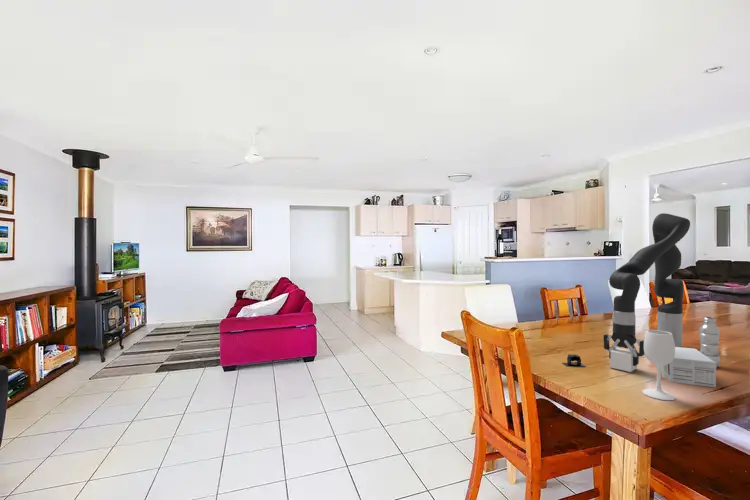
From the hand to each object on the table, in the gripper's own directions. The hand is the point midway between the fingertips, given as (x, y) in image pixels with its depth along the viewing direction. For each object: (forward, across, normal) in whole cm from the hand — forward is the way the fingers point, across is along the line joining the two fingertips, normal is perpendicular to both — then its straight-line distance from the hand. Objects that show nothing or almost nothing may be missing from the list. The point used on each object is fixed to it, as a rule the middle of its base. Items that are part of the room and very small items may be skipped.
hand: (623, 363), depth 144 cm
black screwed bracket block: (+3, +14, +10) cm, 18 cm away
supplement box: (+3, -17, -8) cm, 19 cm away
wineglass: (+2, -16, +20) cm, 26 cm away
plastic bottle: (+3, -21, -30) cm, 37 cm away
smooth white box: (+2, 0, 0) cm, 2 cm away
